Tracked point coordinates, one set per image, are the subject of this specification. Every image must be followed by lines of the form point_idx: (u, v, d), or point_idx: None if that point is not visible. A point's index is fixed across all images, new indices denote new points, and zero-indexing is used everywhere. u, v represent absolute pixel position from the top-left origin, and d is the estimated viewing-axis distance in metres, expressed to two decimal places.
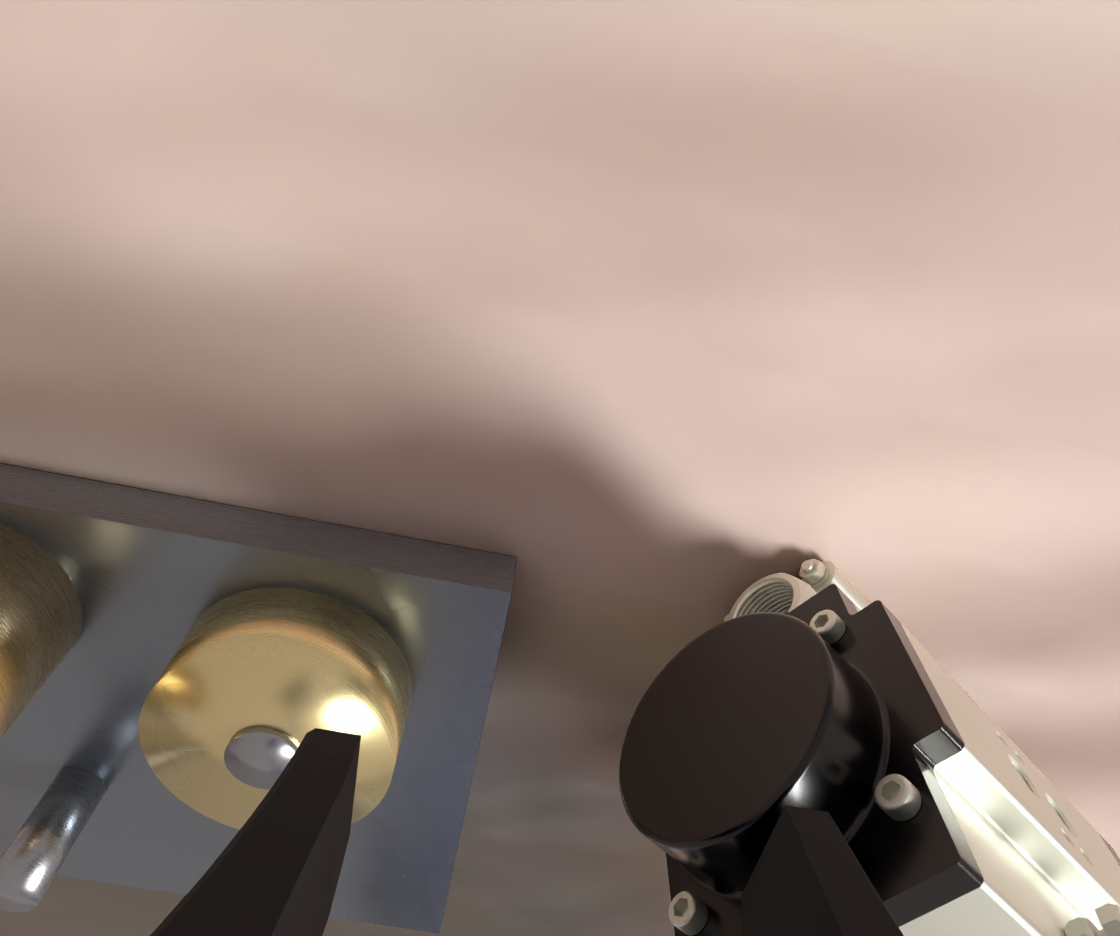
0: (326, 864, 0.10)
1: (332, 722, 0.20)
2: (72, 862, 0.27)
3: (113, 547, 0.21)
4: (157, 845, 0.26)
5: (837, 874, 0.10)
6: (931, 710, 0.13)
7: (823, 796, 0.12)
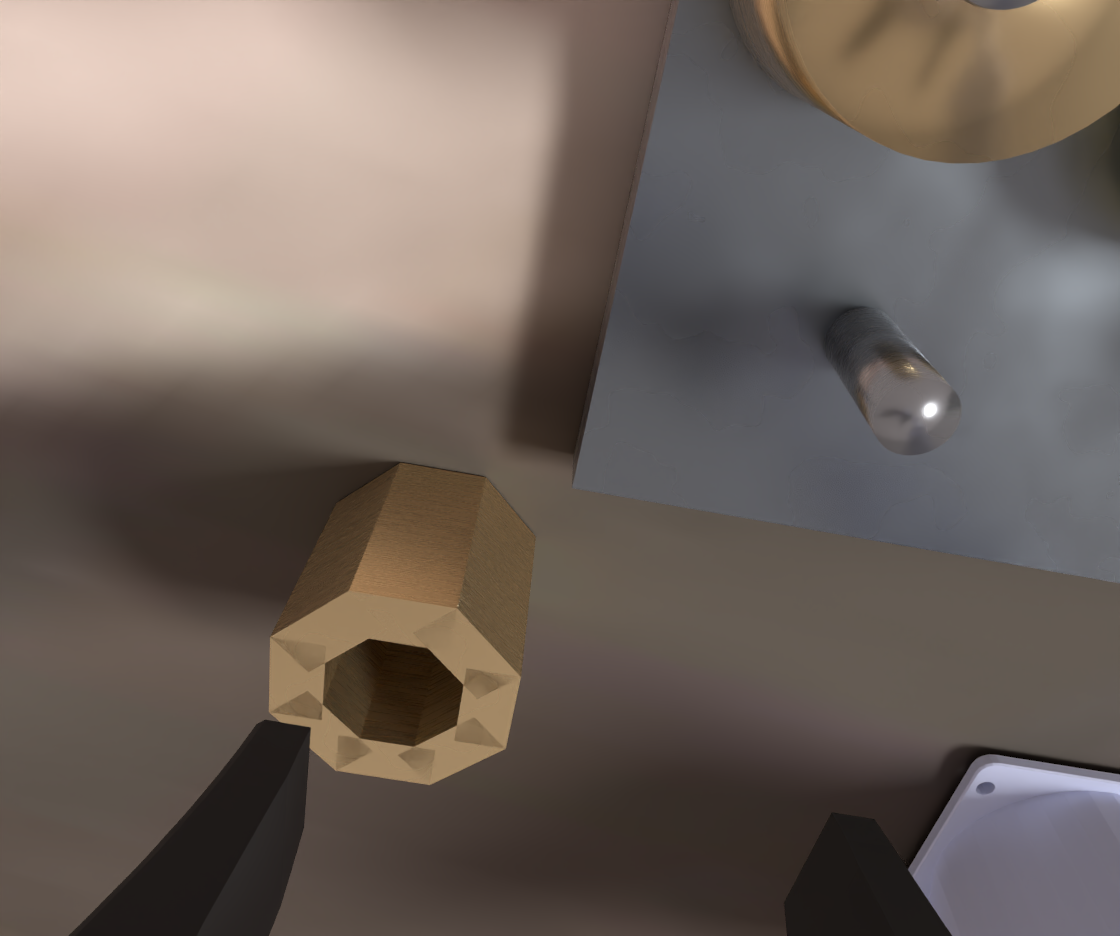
0: (272, 856, 0.10)
1: None
2: (777, 492, 0.19)
3: None
4: (917, 456, 0.18)
5: (888, 882, 0.10)
6: None
7: None
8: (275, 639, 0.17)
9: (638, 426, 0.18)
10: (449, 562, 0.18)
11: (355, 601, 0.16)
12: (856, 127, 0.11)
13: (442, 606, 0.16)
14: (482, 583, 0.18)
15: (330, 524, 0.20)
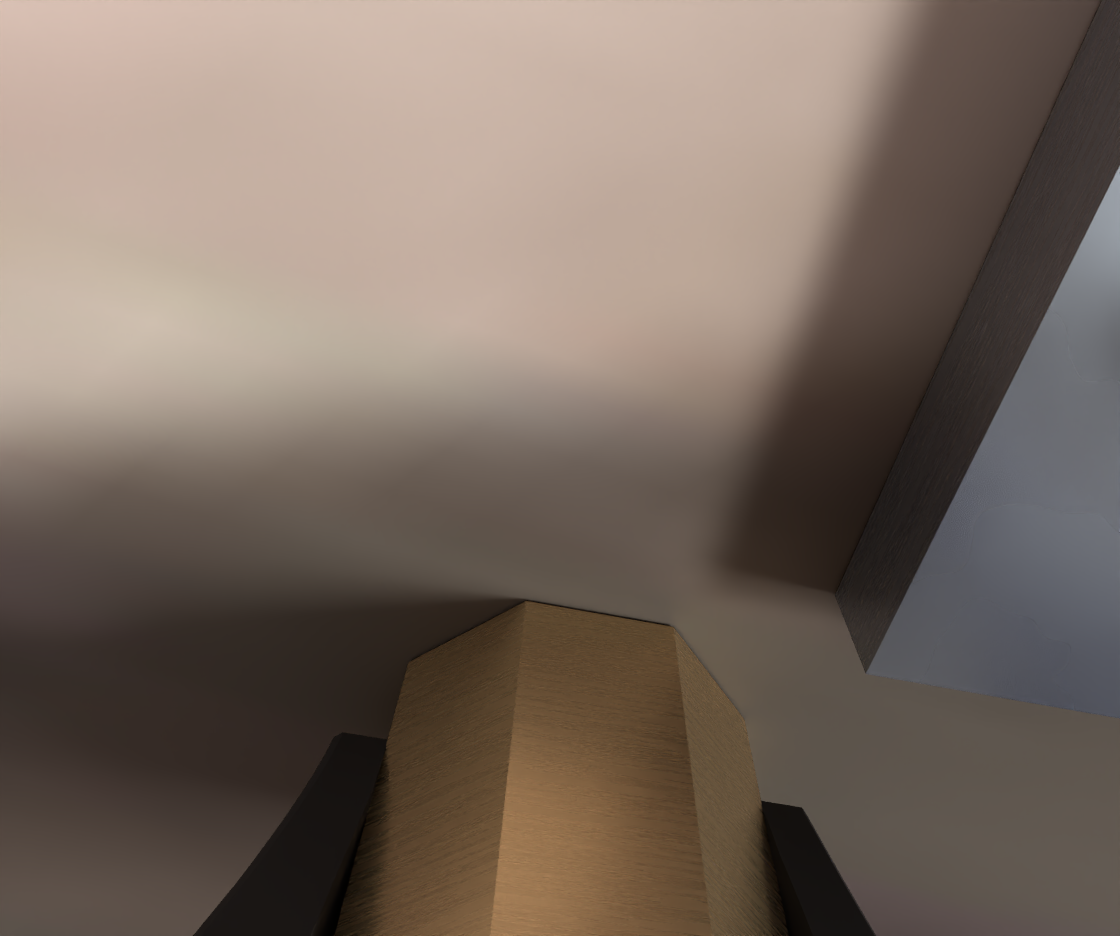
0: None
1: None
2: None
3: None
4: None
5: (808, 869, 0.10)
6: None
7: None
8: None
9: (1021, 572, 0.09)
10: (668, 852, 0.09)
11: None
12: None
13: None
14: (728, 888, 0.09)
15: (404, 716, 0.11)
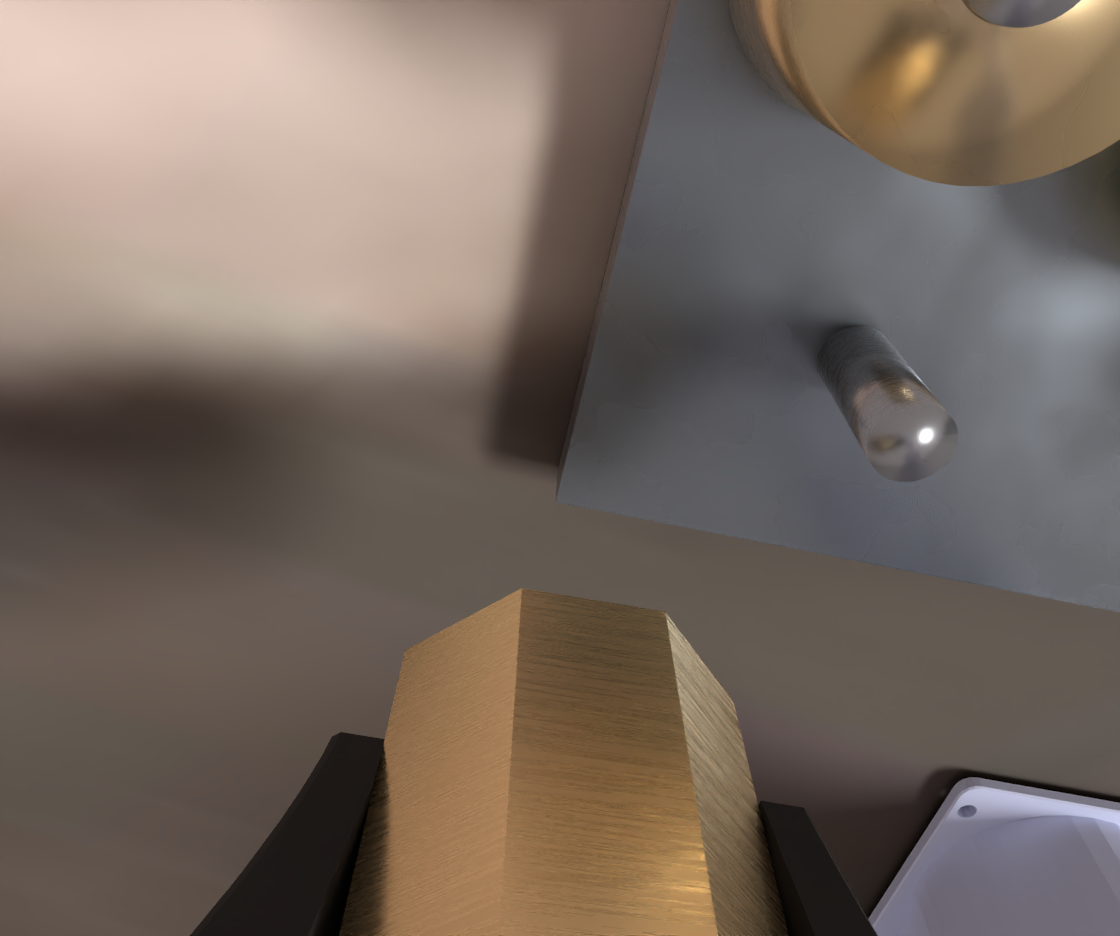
0: (353, 868, 0.10)
1: None
2: (765, 511, 0.18)
3: None
4: None
5: (809, 870, 0.10)
6: None
7: None
8: None
9: (625, 441, 0.18)
10: (668, 827, 0.09)
11: None
12: (860, 145, 0.10)
13: None
14: (725, 860, 0.09)
15: (404, 702, 0.12)
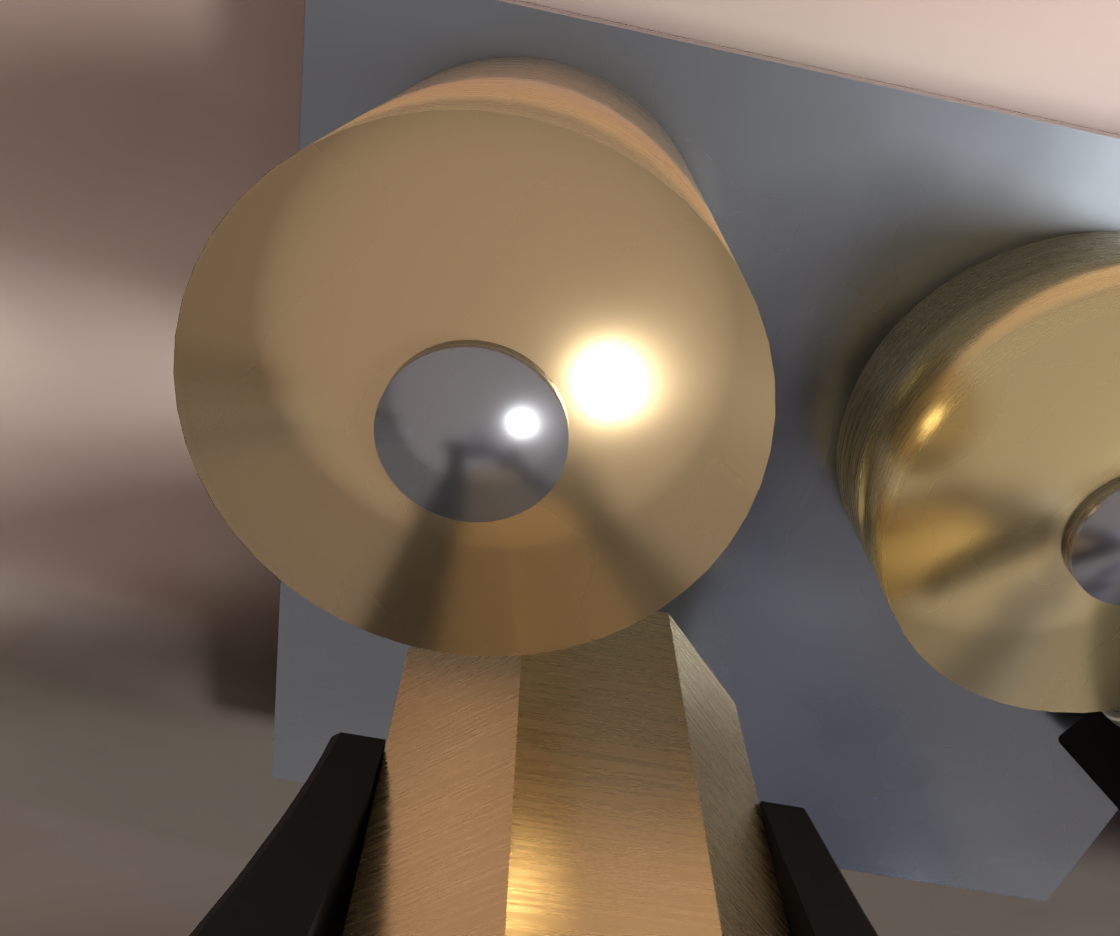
0: (353, 868, 0.10)
1: None
2: None
3: (820, 141, 0.11)
4: None
5: (810, 870, 0.10)
6: None
7: None
8: None
9: (334, 722, 0.16)
10: (672, 828, 0.09)
11: None
12: (343, 615, 0.08)
13: None
14: (728, 861, 0.09)
15: (406, 701, 0.12)
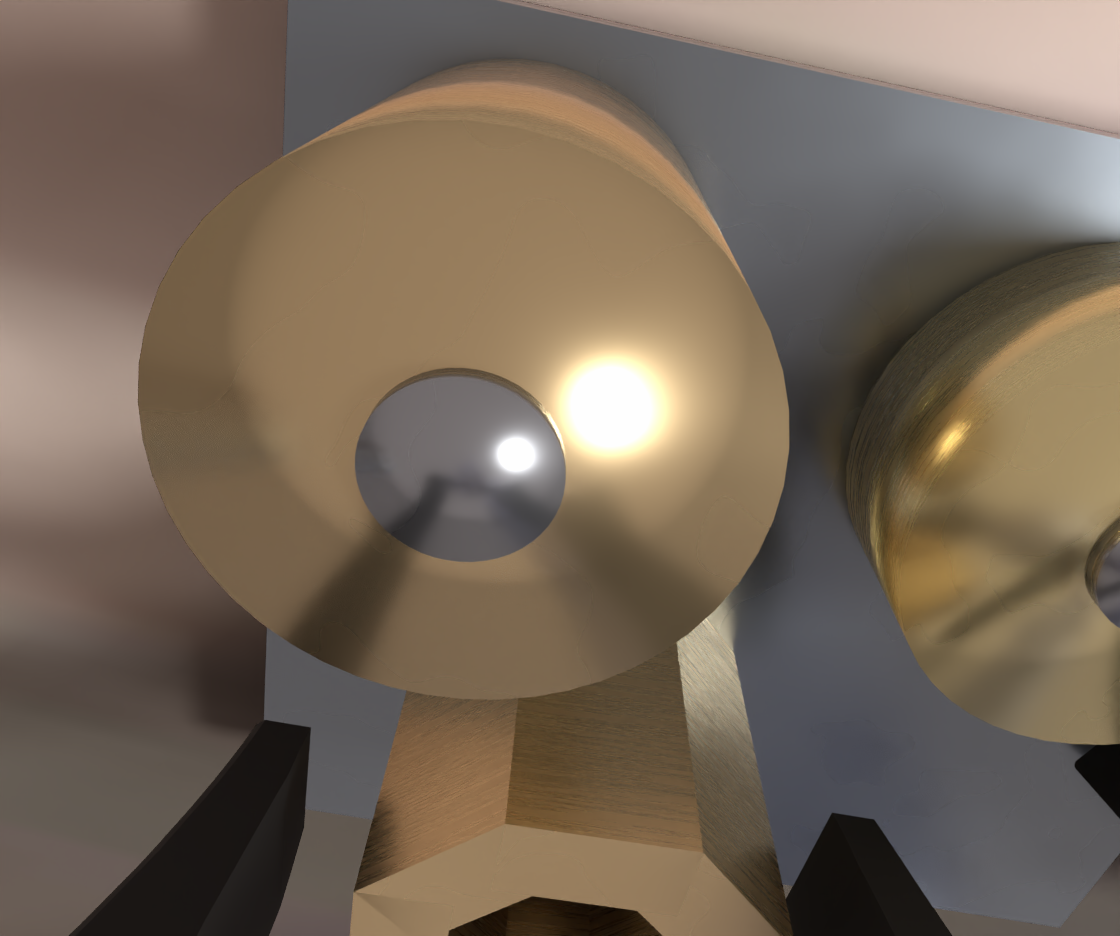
0: (272, 856, 0.10)
1: None
2: None
3: (831, 147, 0.10)
4: None
5: (888, 882, 0.10)
6: None
7: None
8: (362, 896, 0.09)
9: (324, 746, 0.15)
10: (660, 743, 0.10)
11: (515, 840, 0.09)
12: (325, 657, 0.08)
13: (675, 848, 0.09)
14: (713, 775, 0.10)
15: None
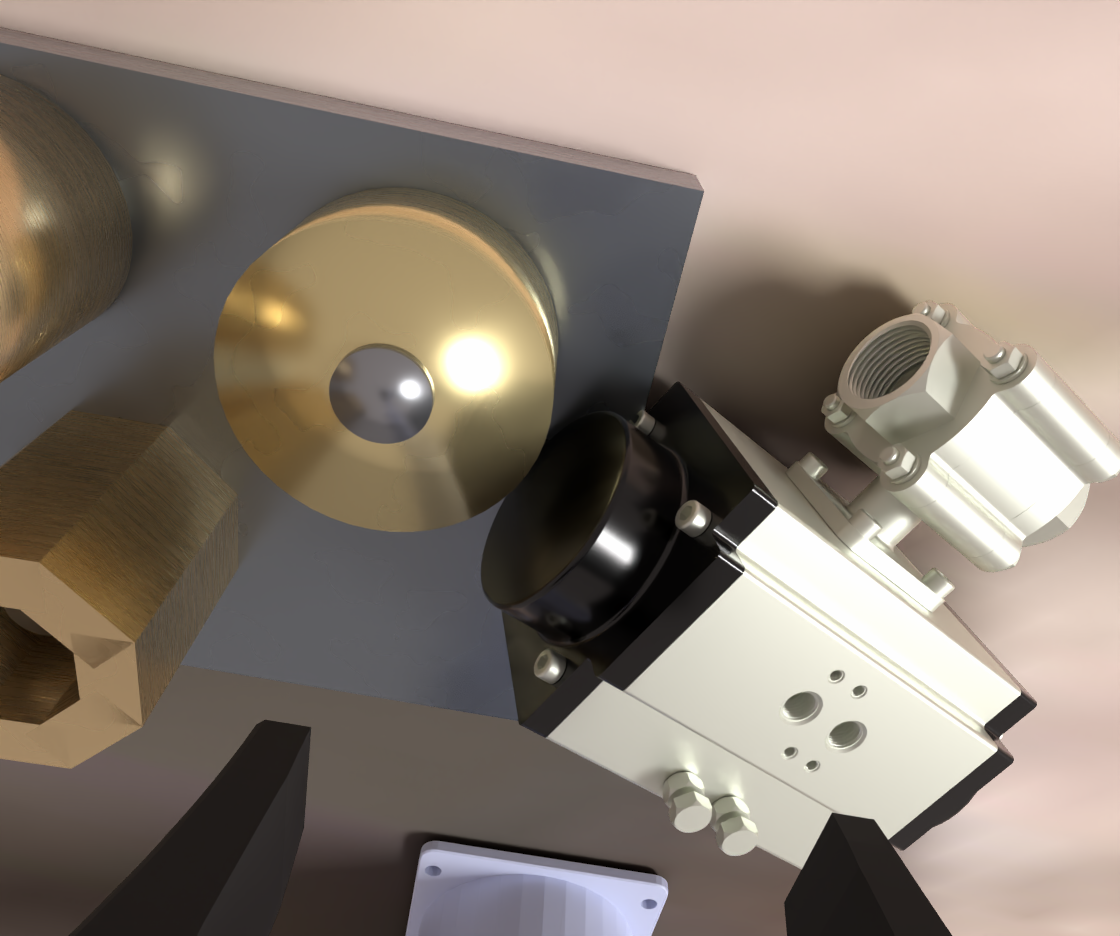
0: (272, 856, 0.10)
1: (476, 336, 0.15)
2: None
3: (177, 123, 0.15)
4: (217, 603, 0.21)
5: (888, 882, 0.10)
6: (608, 662, 0.15)
7: (519, 621, 0.16)
8: None
9: None
10: (62, 513, 0.15)
11: None
12: None
13: (22, 560, 0.14)
14: (105, 537, 0.16)
15: None
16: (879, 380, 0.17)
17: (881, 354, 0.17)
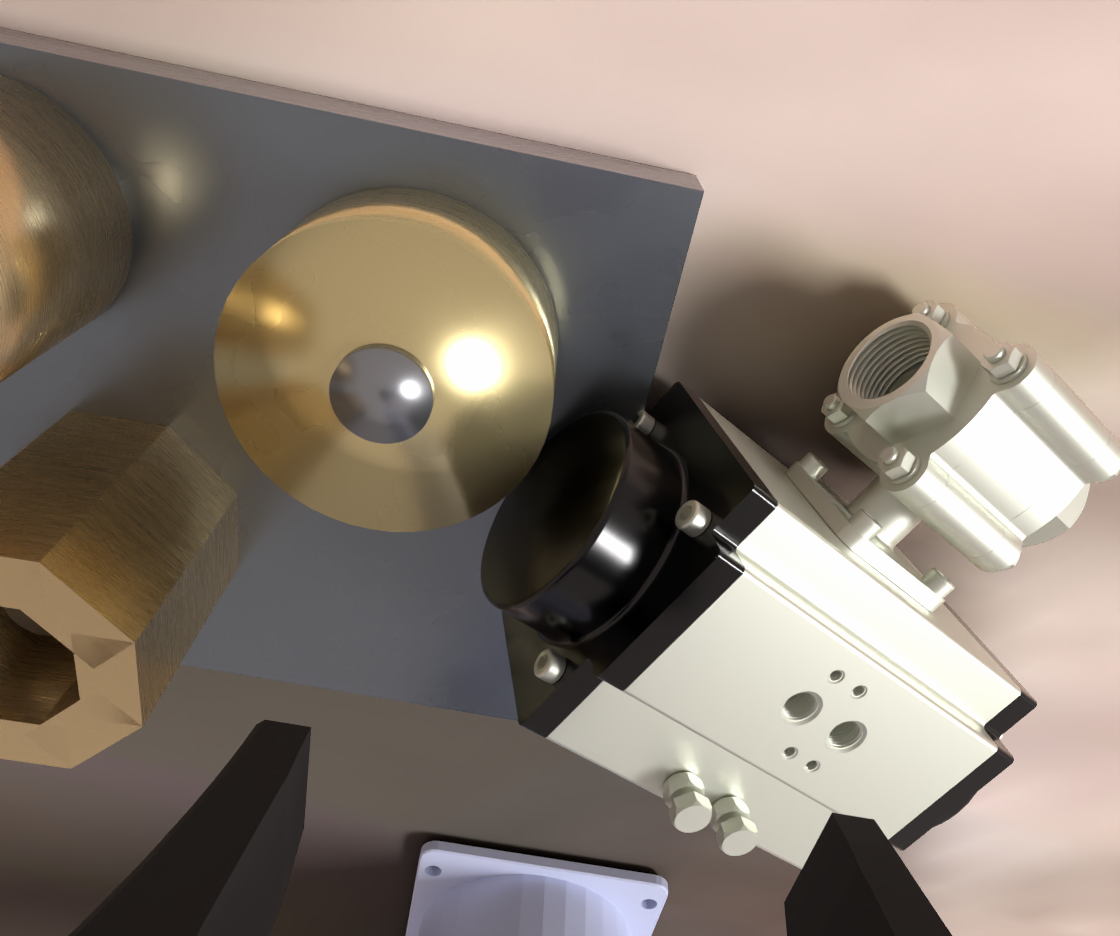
0: (272, 856, 0.10)
1: (476, 336, 0.15)
2: None
3: (177, 123, 0.15)
4: (217, 603, 0.21)
5: (888, 882, 0.10)
6: (608, 662, 0.15)
7: (519, 621, 0.16)
8: None
9: None
10: (62, 513, 0.15)
11: None
12: None
13: (22, 560, 0.14)
14: (105, 537, 0.16)
15: None
16: (879, 380, 0.17)
17: (881, 354, 0.17)
